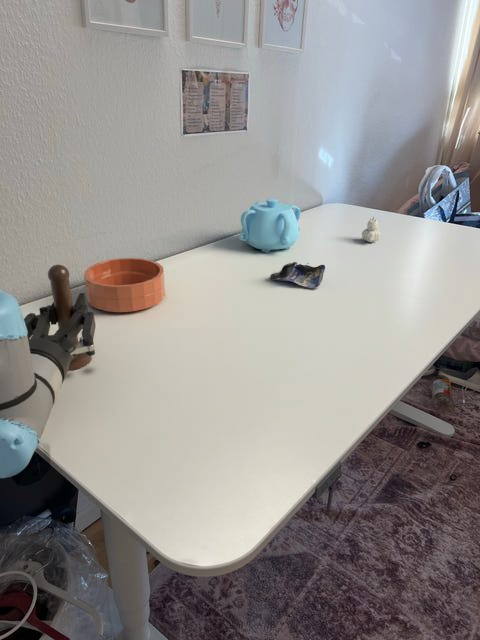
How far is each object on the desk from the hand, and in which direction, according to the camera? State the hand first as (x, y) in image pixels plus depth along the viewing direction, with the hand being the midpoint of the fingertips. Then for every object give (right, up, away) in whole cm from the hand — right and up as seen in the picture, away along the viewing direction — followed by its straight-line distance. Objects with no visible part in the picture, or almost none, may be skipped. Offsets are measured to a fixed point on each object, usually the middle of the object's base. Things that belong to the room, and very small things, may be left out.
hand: (72, 300), depth 84 cm
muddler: (0, -11, -1) cm, 11 cm away
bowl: (+4, +1, +22) cm, 23 cm away
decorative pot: (+38, +18, +57) cm, 71 cm away
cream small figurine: (+69, +20, +62) cm, 95 cm away
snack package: (+43, +6, +33) cm, 54 cm away
